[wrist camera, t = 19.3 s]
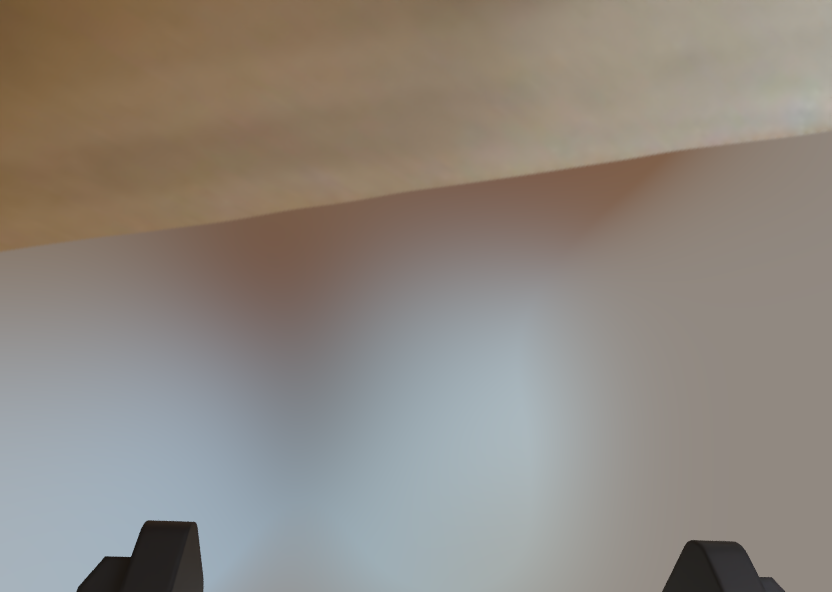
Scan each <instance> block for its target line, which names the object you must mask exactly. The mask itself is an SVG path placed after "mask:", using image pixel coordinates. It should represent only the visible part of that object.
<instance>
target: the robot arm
mask: <svg viewBox="0 0 832 592" xmlns="http://www.w3.org/2000/svg"><path fill="white" fill-rule="evenodd" d="M77 592H203V571H202V562H201V554H200V546H199V536H198V528H197V524H196V523H195V522H182V521H146V522H145V523H144V525H143V527H142V529H141V531H140V533H139V537H138V539H137V542H136V545H135V548H134V550H133V553H132V556H131V557H108V556H107V557H104V558H103V560H102V561H101V562H100V563H99V564H98V565H97V567H96V568H95V569H94V570H93V571H92V572H91V573H90V574H89V575H88V577H87V578H86V579H85V580H84V581H83V582H82V584H81V585H80V586H79V587H78V589H77ZM662 592H785V591H784V590H783V589H782V588H781V587H780V586H779V585H778V584H777V583H776V582H775V580H774V579H773V578H772V577H759V576H758V574H757V572H756V570H755V568H754V566H753V564H752V562H751V560H750V558H749V556H748V554H747V553H746V551H745V550H744V548H743V547H742V546H741V545H740V544H738V543H736V542H730V541H698V540H691V541H689V542H687V543H686V545H685V546H684V549H683V550H682V553H681V554H680V557H679V559H678V561H677V563H676V565H675V567H674V569H673V571H672V573H671V575H670V577H669V579H668V581H667V583H666V585H665V587H664V589H663V591H662Z"/></svg>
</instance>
